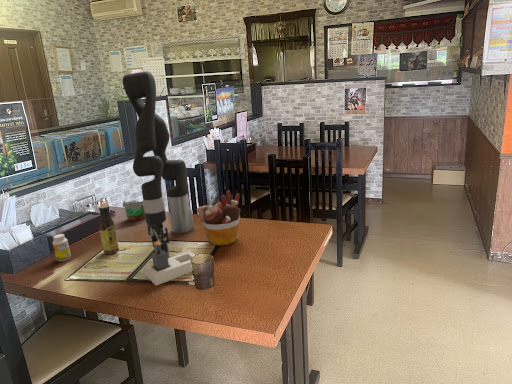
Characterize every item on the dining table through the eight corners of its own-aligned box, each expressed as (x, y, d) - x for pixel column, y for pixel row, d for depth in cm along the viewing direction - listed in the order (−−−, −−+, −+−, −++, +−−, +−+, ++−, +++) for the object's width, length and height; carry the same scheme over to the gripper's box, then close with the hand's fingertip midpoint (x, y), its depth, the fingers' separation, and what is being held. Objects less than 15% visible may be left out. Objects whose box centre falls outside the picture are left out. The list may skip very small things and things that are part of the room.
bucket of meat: (229, 252, 155) (224, 204, 150) (194, 247, 162) (189, 201, 157) (251, 233, 173) (247, 190, 167) (218, 230, 180) (214, 188, 174)
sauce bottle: (114, 255, 160) (105, 209, 155) (100, 255, 162) (91, 209, 156) (122, 248, 167) (114, 204, 161) (109, 248, 168) (100, 204, 163)
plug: (165, 258, 154) (162, 239, 152) (170, 261, 151) (167, 242, 149) (156, 261, 152) (153, 242, 150) (160, 264, 149) (157, 245, 147)
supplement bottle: (56, 258, 162) (51, 235, 159) (71, 254, 164) (66, 232, 162) (56, 263, 157) (50, 239, 154) (71, 259, 159) (66, 236, 157)
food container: (120, 222, 200) (117, 204, 197) (126, 218, 206) (123, 200, 203) (143, 222, 198) (140, 203, 195) (148, 218, 203) (145, 199, 201)
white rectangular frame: (190, 260, 150) (186, 231, 147) (202, 268, 143) (198, 237, 140) (145, 276, 140) (140, 245, 137) (156, 285, 133) (150, 253, 130)
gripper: (171, 211, 142) (177, 252, 146) (156, 203, 153) (161, 242, 158) (152, 216, 138) (158, 258, 142) (137, 208, 149) (143, 247, 153)
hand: (160, 249), depth 150 cm, fingers open, 8 cm apart
